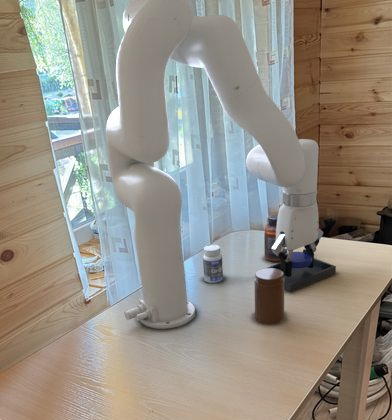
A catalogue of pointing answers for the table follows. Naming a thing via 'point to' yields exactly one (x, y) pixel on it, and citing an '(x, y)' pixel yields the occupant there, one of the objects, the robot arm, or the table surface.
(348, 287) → the table surface
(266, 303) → the jar
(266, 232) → the supplement bottle
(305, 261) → the jar lid
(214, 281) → the pill bottle
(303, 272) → the tray
